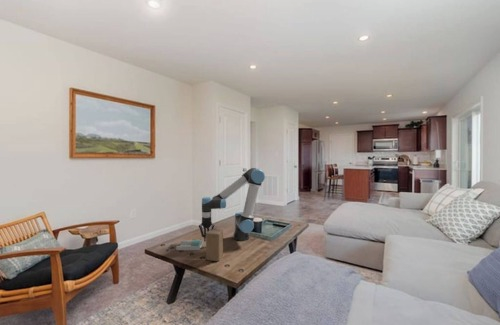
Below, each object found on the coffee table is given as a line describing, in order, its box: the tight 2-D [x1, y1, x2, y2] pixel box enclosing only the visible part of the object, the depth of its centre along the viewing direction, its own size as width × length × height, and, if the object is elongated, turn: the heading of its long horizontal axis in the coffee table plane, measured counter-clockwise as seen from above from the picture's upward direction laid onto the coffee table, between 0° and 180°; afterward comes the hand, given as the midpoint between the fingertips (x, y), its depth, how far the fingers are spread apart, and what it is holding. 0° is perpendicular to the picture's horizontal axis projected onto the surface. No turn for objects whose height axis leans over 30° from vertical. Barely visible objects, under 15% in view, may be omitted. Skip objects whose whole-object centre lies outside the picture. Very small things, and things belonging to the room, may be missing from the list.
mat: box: [166, 244, 174, 252], centre depth 185 cm, size 8×11×1 cm
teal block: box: [191, 238, 202, 247], centre depth 185 cm, size 6×6×5 cm
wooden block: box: [205, 228, 224, 262], centre depth 166 cm, size 10×10×20 cm
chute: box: [175, 240, 204, 251], centre depth 185 cm, size 18×12×4 cm, turn 90°
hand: (206, 245), depth 185 cm, fingers closed
